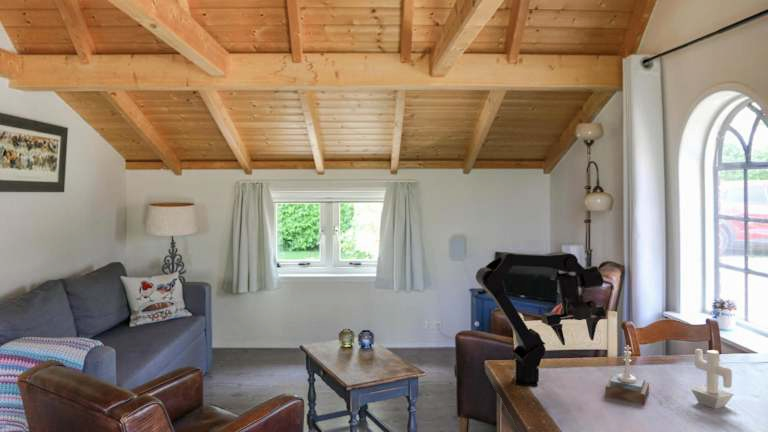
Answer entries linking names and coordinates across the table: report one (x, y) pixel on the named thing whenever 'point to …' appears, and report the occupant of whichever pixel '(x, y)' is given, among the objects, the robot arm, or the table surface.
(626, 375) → the chess piece
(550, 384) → the table surface
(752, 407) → the table surface
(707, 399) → the figurine
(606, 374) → the table surface
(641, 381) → the stepped pedestal base
